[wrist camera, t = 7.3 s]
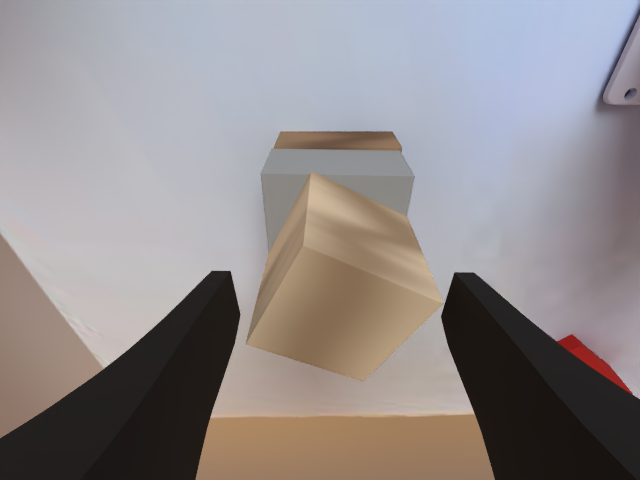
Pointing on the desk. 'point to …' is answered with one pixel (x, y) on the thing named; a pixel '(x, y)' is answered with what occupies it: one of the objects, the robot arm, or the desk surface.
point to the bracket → (591, 359)
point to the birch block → (342, 282)
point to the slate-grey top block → (333, 179)
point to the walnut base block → (338, 141)
